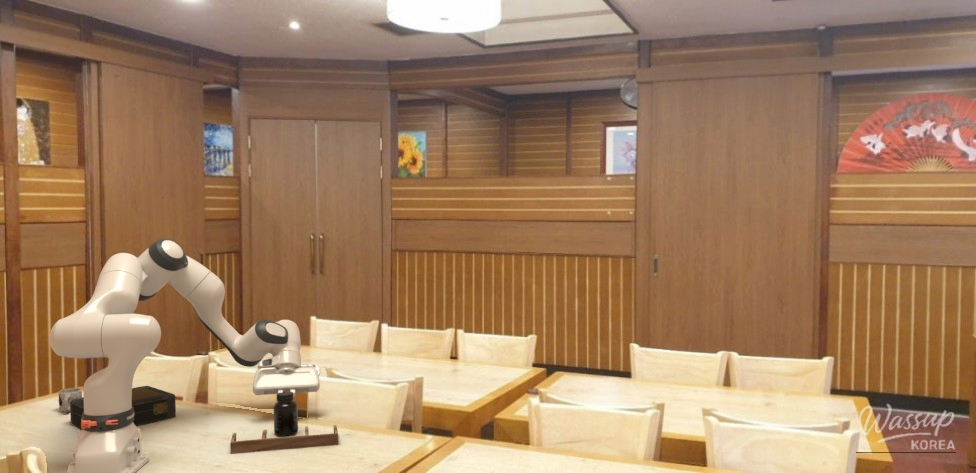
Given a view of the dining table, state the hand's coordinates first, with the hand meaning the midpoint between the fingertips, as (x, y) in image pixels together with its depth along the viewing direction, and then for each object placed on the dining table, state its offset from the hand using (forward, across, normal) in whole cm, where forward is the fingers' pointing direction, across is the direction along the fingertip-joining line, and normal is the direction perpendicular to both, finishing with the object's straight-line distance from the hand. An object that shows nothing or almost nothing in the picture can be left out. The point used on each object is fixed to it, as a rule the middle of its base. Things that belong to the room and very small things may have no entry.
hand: (286, 404), depth 226 cm
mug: (-19, +69, -28) cm, 77 cm away
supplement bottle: (+12, 0, +3) cm, 12 cm away
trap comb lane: (+15, 0, +7) cm, 17 cm away
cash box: (-8, +50, -18) cm, 53 cm away
